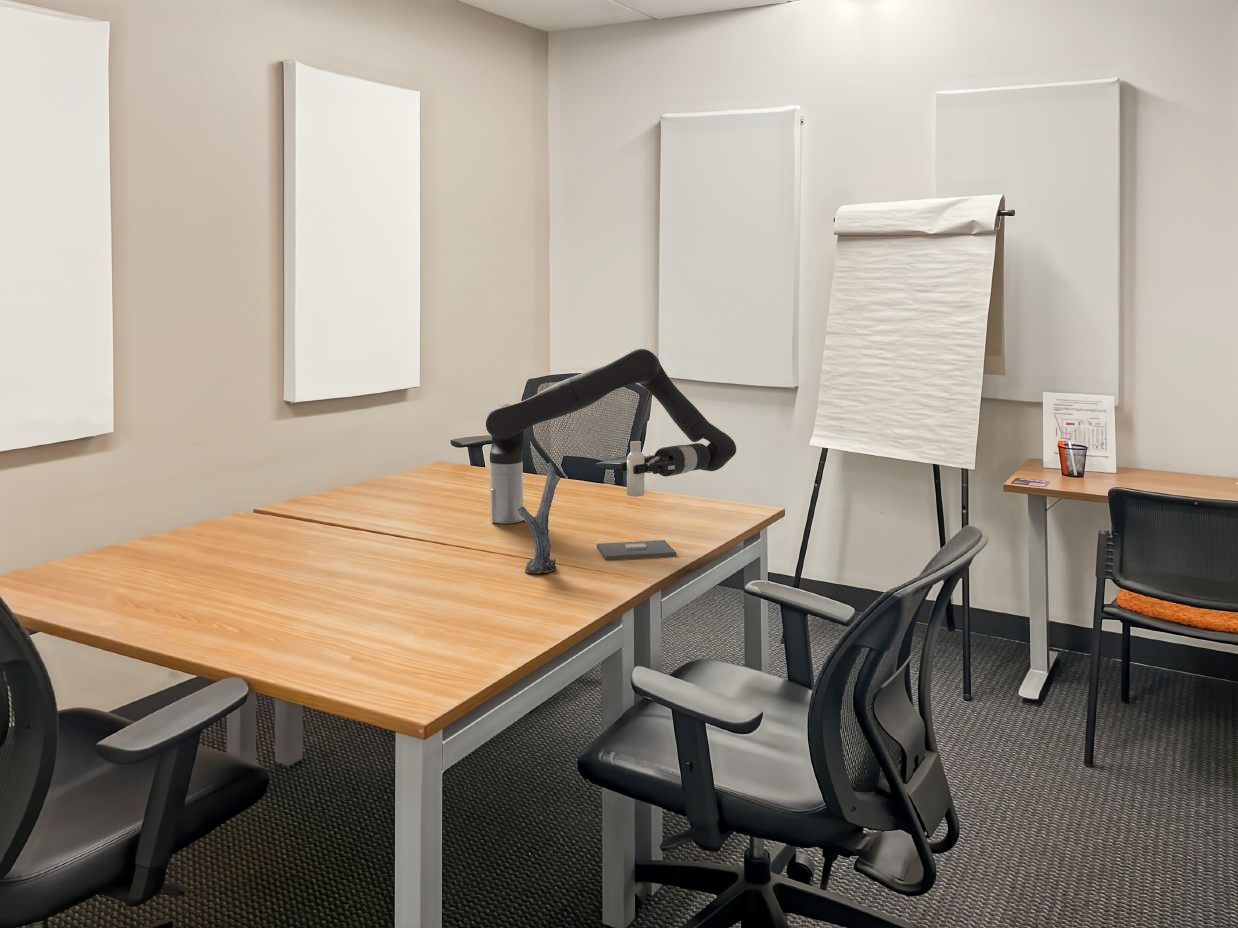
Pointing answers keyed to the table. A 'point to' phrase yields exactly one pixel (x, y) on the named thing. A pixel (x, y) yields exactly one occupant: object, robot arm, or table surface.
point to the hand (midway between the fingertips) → (627, 468)
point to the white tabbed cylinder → (633, 480)
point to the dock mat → (635, 549)
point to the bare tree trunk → (542, 526)
